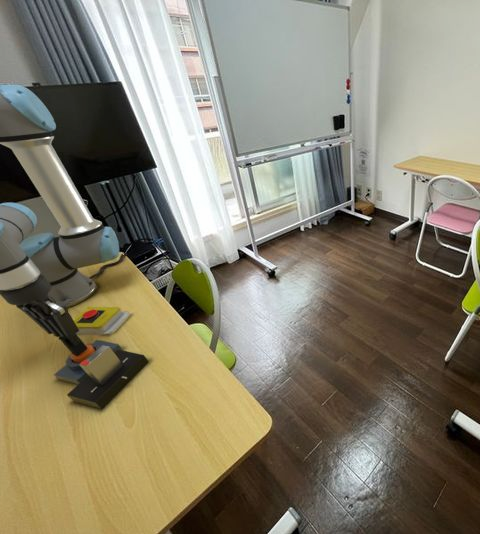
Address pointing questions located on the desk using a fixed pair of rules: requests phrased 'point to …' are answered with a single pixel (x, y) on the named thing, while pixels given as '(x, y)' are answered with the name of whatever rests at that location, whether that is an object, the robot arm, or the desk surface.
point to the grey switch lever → (101, 365)
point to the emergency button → (100, 320)
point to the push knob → (83, 354)
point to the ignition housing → (74, 370)
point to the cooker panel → (108, 382)
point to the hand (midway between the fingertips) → (80, 351)
